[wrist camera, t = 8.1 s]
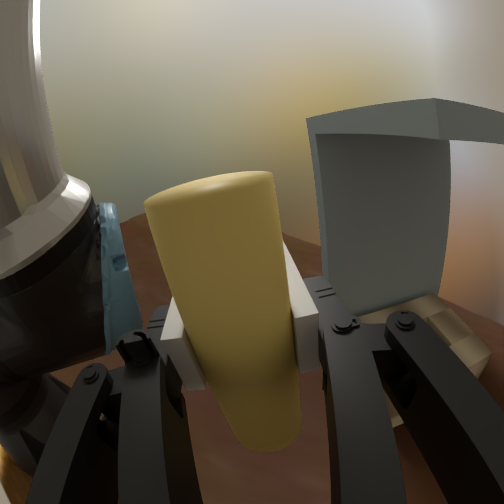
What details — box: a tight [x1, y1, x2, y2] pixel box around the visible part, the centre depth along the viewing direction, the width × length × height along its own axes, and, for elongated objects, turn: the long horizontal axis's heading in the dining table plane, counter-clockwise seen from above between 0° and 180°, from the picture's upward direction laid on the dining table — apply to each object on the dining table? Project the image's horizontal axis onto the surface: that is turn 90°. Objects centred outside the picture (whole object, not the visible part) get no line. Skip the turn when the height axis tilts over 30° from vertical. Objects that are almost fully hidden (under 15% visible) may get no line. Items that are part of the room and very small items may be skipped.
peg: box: [144, 171, 302, 452], centre depth 10 cm, size 4×4×12 cm
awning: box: [306, 98, 504, 317], centre depth 19 cm, size 16×17×26 cm
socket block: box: [358, 293, 492, 427], centre depth 23 cm, size 12×12×5 cm
